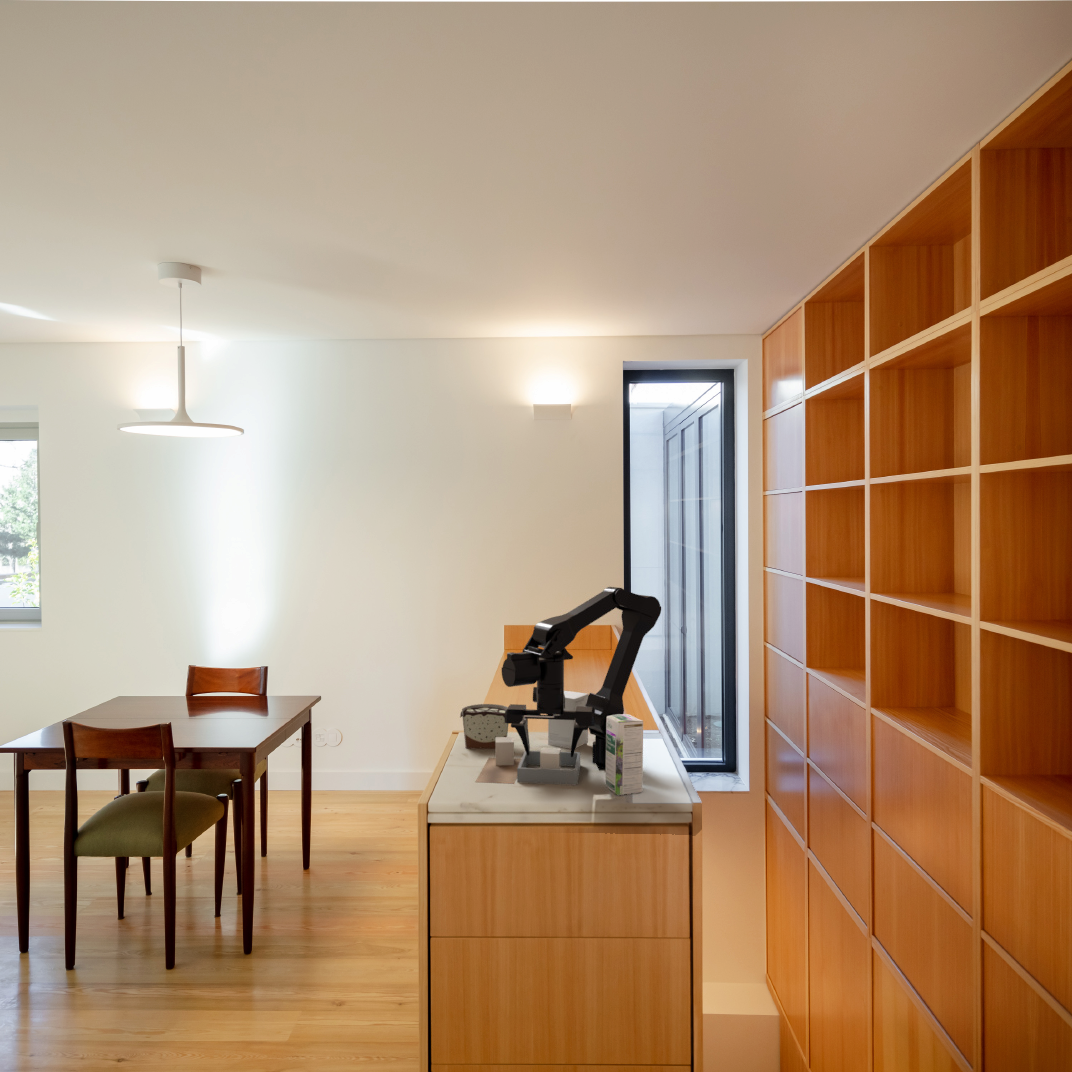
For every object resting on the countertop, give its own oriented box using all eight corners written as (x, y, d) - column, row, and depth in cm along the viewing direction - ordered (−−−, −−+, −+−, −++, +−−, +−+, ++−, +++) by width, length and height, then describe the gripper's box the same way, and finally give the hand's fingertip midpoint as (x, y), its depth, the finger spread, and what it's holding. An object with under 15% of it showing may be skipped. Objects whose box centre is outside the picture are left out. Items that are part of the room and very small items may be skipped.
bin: (580, 768, 155) (580, 752, 155) (577, 788, 143) (577, 770, 143) (524, 766, 157) (524, 750, 157) (517, 786, 145) (517, 768, 145)
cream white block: (513, 759, 159) (513, 737, 159) (513, 765, 155) (514, 742, 155) (495, 759, 159) (495, 737, 159) (495, 765, 155) (495, 742, 155)
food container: (515, 745, 173) (515, 704, 173) (511, 753, 167) (511, 710, 166) (464, 743, 174) (465, 702, 174) (459, 751, 168) (459, 708, 168)
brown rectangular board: (524, 762, 160) (524, 758, 160) (514, 787, 144) (514, 783, 144) (489, 761, 161) (489, 757, 161) (475, 785, 145) (475, 781, 145)
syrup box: (604, 787, 144) (604, 715, 144) (629, 783, 147) (630, 712, 147) (617, 796, 139) (618, 722, 139) (644, 792, 141) (644, 719, 141)
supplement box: (573, 752, 167) (574, 699, 167) (547, 747, 171) (547, 694, 171) (589, 745, 173) (589, 693, 173) (562, 740, 177) (563, 689, 177)
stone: (560, 771, 152) (560, 748, 152) (559, 778, 148) (559, 753, 148) (541, 770, 152) (542, 747, 152) (540, 777, 148) (540, 753, 148)
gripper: (595, 675, 157) (595, 746, 157) (511, 673, 159) (511, 743, 159) (594, 686, 146) (594, 762, 146) (504, 683, 148) (504, 758, 148)
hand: (550, 755), depth 150 cm, fingers open, 9 cm apart
